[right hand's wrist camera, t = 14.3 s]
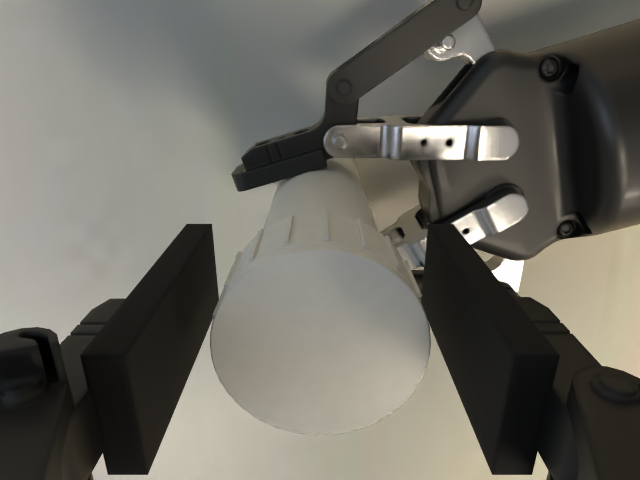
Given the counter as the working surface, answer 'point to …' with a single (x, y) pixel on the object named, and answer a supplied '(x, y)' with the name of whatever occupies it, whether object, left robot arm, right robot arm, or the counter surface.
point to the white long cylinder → (322, 194)
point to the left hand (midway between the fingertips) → (258, 230)
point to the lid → (320, 326)
